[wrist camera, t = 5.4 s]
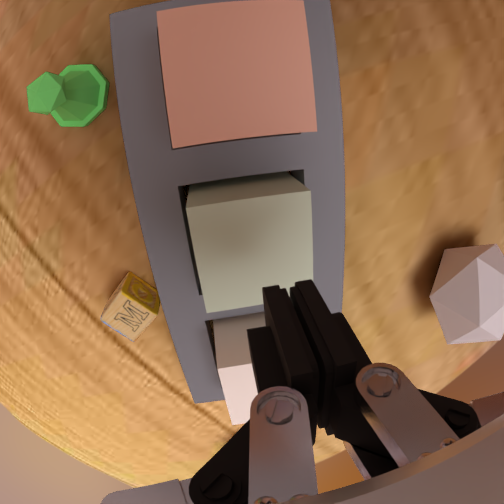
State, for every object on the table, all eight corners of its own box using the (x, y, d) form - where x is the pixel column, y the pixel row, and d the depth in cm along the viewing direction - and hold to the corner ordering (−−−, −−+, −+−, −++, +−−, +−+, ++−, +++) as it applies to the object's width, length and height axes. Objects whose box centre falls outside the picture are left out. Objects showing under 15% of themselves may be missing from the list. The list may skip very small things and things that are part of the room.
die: (391, 288, 27) (445, 381, 22) (455, 225, 20) (524, 338, 15) (437, 265, 31) (483, 341, 26) (490, 211, 24) (545, 297, 19)
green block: (189, 184, 19) (185, 208, 15) (285, 171, 20) (310, 190, 15) (204, 270, 22) (206, 313, 17) (291, 256, 22) (313, 294, 18)
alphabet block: (108, 297, 23) (98, 321, 20) (128, 269, 22) (120, 291, 19) (140, 318, 24) (135, 343, 21) (162, 292, 23) (158, 316, 20)
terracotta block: (168, 36, 14) (156, 11, 10) (277, 26, 15) (303, 0, 10) (180, 138, 17) (172, 148, 12) (287, 125, 17) (317, 131, 13)
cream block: (212, 317, 22) (217, 368, 17) (297, 303, 22) (320, 349, 18) (225, 375, 25) (232, 425, 20) (299, 362, 25) (316, 408, 21)
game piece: (45, 80, 15) (-5, 76, 10) (102, 53, 15) (65, 35, 10) (60, 137, 17) (13, 152, 12) (117, 113, 17) (84, 117, 12)
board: (122, 26, 15) (109, 14, 12) (312, 7, 16) (328, -6, 13) (194, 378, 27) (194, 403, 24) (325, 354, 28) (335, 377, 25)
